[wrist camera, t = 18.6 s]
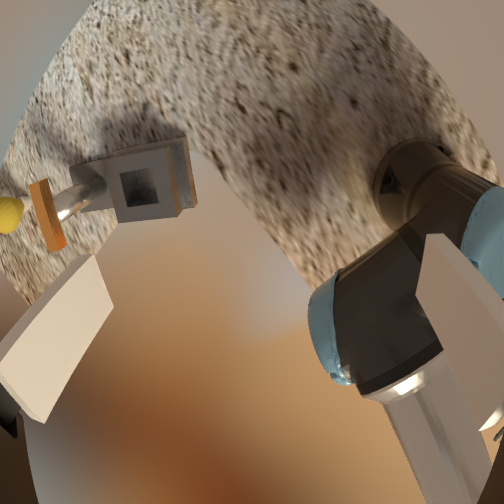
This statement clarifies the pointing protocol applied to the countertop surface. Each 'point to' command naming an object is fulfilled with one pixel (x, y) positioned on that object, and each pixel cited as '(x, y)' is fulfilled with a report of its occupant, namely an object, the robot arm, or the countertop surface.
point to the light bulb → (12, 212)
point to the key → (62, 206)
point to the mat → (87, 171)
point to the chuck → (151, 180)
